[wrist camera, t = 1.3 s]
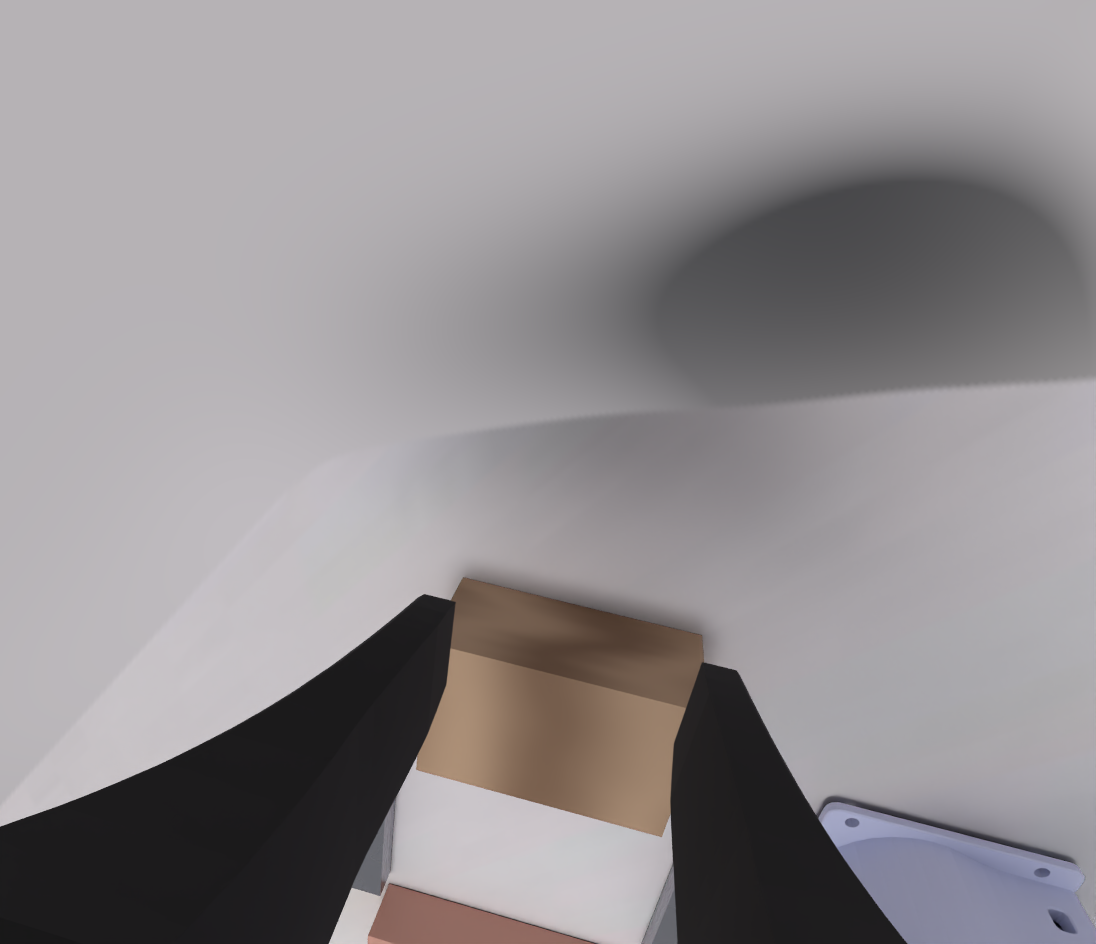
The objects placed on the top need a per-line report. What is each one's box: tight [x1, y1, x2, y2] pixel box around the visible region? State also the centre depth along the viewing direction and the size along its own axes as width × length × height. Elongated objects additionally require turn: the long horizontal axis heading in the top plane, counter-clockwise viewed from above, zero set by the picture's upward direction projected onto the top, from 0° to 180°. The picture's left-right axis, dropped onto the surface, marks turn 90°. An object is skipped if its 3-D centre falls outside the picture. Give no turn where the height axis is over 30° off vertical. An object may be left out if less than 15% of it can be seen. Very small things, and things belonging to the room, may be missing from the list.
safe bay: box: [352, 800, 677, 944], centre depth 29 cm, size 16×8×1 cm, turn 81°
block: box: [416, 578, 704, 837], centre depth 23 cm, size 9×6×4 cm, turn 81°
